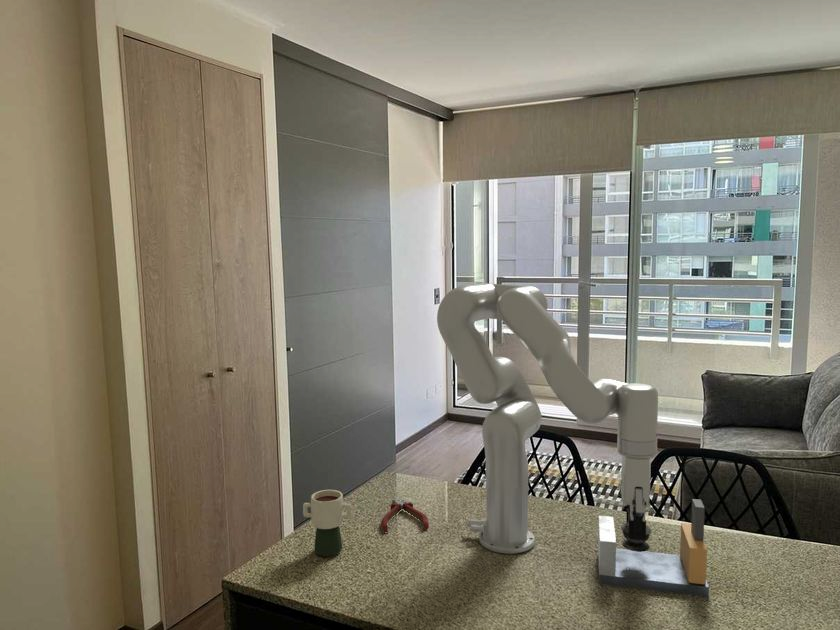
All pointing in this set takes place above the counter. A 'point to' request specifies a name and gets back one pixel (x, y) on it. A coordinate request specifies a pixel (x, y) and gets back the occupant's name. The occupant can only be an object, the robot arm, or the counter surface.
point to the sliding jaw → (694, 545)
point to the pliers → (407, 507)
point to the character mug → (327, 520)
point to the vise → (641, 566)
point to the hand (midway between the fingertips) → (635, 531)
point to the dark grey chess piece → (634, 544)
